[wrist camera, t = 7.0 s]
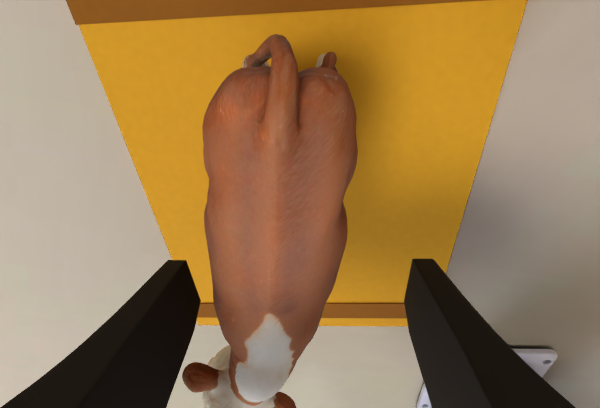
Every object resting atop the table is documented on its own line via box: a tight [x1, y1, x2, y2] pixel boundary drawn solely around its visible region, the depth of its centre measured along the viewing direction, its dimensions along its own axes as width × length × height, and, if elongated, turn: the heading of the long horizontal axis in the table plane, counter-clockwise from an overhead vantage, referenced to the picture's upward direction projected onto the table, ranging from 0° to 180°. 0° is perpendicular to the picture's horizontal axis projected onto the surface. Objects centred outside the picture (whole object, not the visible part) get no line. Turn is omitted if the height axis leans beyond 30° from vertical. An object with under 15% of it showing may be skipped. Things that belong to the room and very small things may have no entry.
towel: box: [66, 0, 528, 326], centre depth 15 cm, size 20×15×1 cm
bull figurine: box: [182, 34, 358, 408], centre depth 11 cm, size 4×13×8 cm, turn 168°
